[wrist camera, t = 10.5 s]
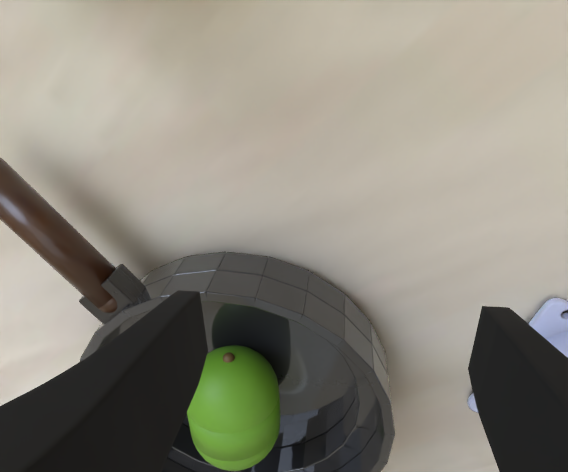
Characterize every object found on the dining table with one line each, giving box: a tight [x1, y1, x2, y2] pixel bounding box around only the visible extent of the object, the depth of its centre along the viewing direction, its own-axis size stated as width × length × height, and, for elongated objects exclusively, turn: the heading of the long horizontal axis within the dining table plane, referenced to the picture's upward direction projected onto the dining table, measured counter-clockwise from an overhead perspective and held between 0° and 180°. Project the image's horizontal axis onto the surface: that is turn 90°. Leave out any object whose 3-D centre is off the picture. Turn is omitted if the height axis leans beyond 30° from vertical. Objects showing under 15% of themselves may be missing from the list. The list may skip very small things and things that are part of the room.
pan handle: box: [0, 158, 146, 324], centre depth 19 cm, size 9×2×2 cm, turn 38°
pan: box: [80, 252, 395, 472], centre depth 23 cm, size 16×16×4 cm
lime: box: [187, 345, 280, 471], centre depth 23 cm, size 8×5×5 cm, turn 1°
